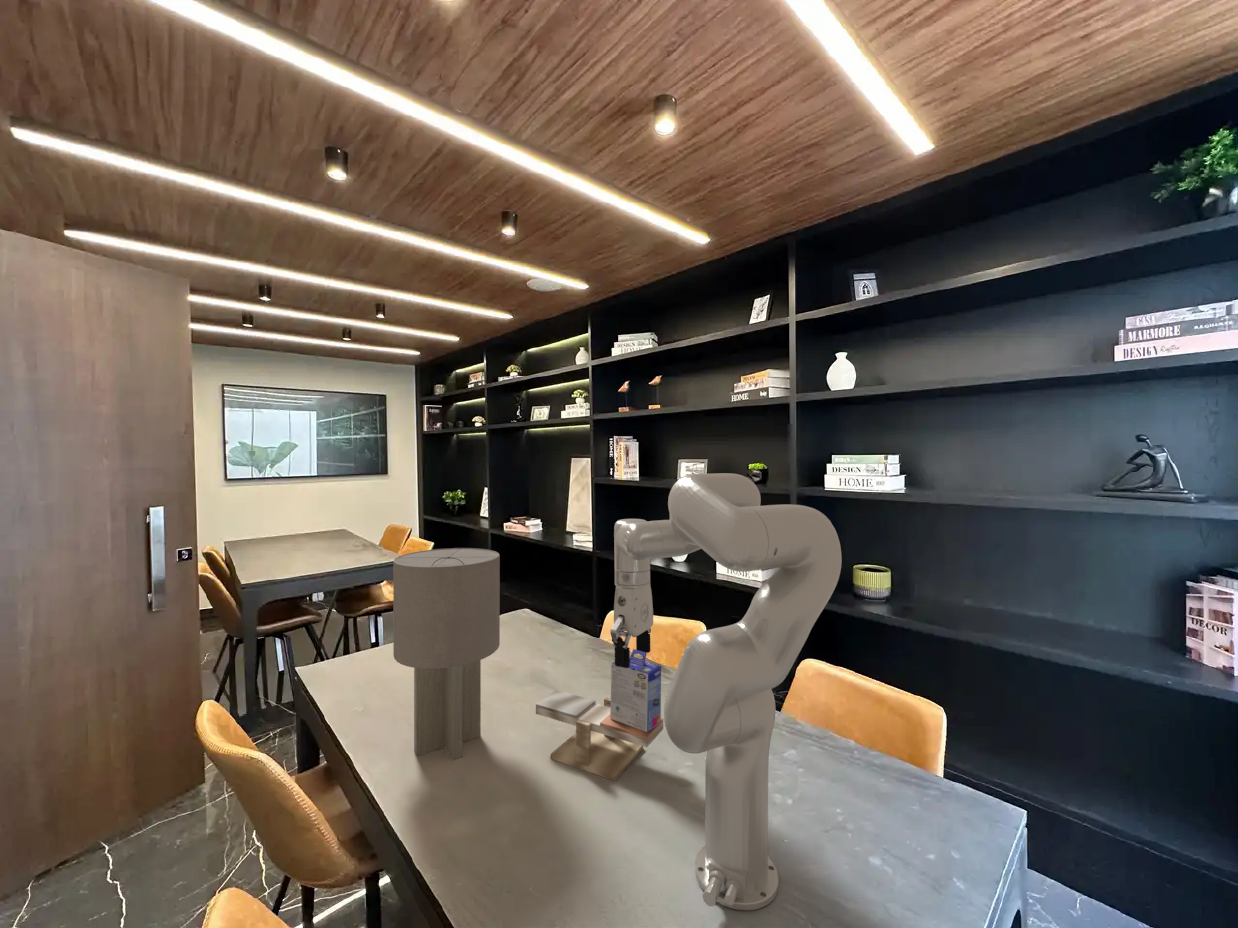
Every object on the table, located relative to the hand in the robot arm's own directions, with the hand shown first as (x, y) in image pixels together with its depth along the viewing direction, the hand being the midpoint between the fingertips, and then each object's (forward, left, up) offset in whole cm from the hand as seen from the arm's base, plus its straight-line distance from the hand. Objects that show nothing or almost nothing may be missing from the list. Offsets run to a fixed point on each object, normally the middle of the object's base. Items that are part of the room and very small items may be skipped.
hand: (633, 658), depth 107 cm
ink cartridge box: (+1, 0, -14) cm, 14 cm away
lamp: (-13, +41, -23) cm, 49 cm away
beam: (0, +9, -15) cm, 17 cm away
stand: (0, +9, -23) cm, 24 cm away
